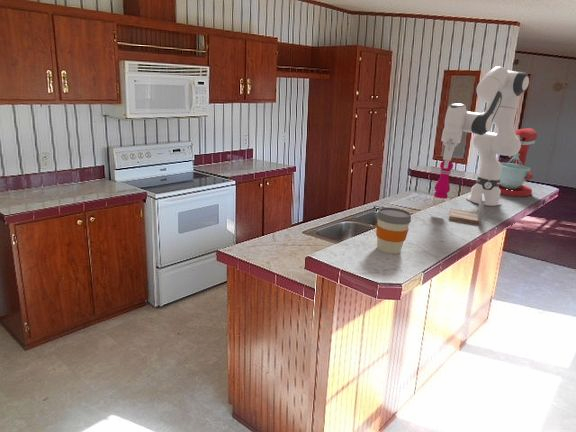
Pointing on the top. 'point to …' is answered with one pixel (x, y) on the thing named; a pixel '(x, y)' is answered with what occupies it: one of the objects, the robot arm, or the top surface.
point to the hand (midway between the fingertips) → (445, 166)
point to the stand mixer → (518, 167)
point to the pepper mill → (443, 181)
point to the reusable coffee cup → (392, 229)
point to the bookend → (468, 214)
